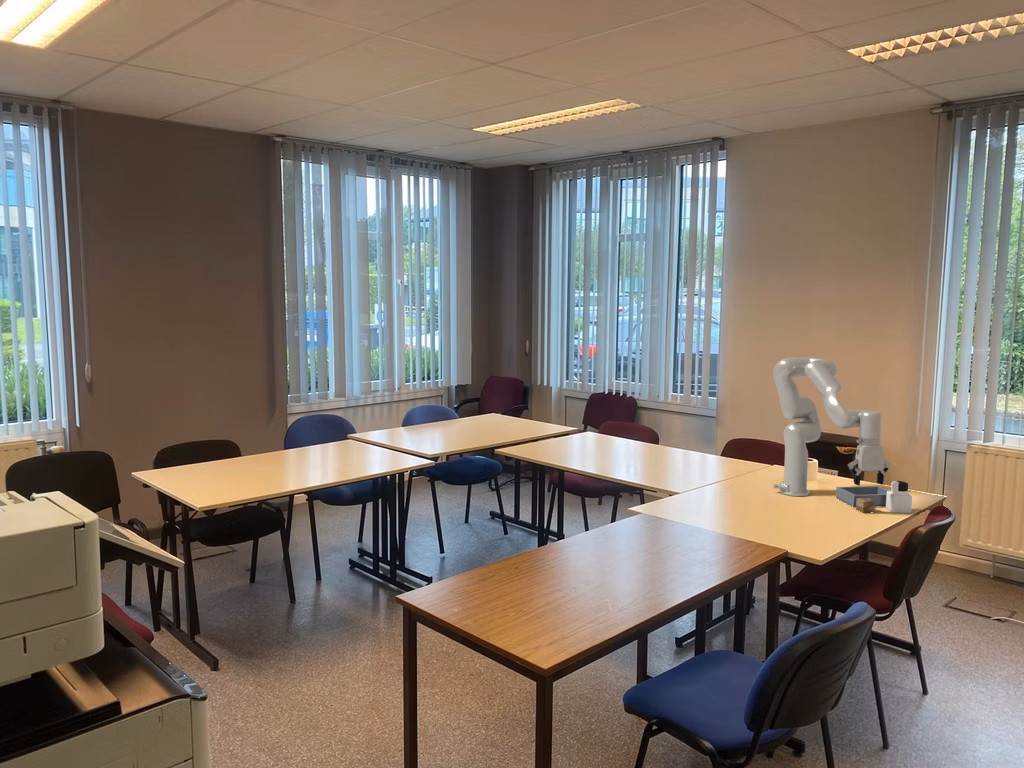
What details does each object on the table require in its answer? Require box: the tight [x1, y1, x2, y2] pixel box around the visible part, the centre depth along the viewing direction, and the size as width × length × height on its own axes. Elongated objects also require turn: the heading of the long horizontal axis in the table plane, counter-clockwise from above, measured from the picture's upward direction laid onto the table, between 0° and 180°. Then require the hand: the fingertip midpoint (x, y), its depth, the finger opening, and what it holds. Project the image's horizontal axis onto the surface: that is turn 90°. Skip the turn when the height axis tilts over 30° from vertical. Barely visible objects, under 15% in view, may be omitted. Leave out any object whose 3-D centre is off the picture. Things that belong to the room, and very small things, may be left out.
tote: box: [835, 485, 890, 508], centre depth 309 cm, size 19×14×5 cm
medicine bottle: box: [885, 480, 913, 514], centre depth 296 cm, size 7×7×12 cm
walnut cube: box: [855, 498, 876, 514], centre depth 295 cm, size 5×5×5 cm
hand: (868, 484), depth 294 cm, fingers open, 9 cm apart
